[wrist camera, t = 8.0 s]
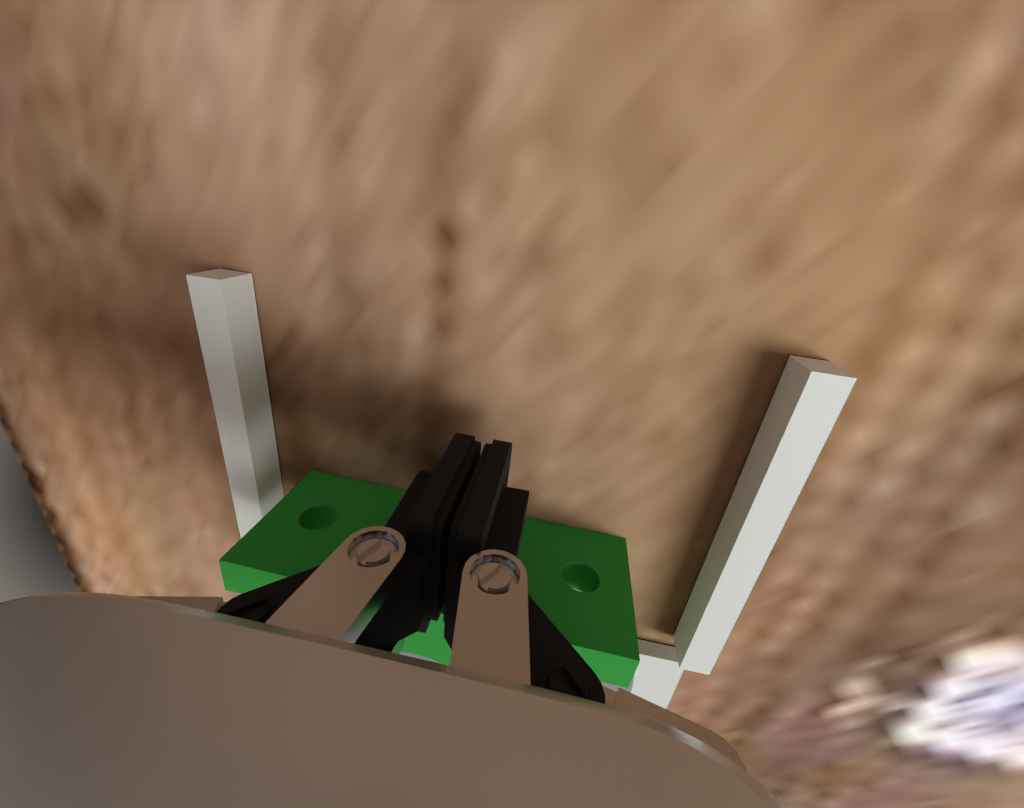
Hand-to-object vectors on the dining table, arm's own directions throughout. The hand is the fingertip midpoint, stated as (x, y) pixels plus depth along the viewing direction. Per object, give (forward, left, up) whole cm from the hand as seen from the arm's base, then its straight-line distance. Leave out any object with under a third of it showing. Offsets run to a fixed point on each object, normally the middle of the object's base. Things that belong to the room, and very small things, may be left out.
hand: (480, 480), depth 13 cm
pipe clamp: (+4, -1, -2) cm, 4 cm away
